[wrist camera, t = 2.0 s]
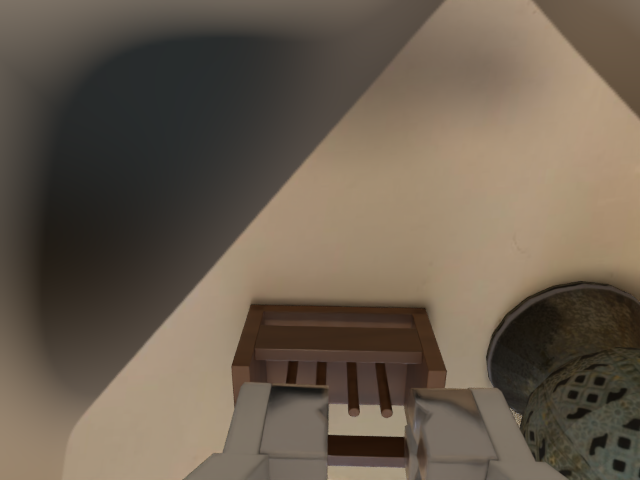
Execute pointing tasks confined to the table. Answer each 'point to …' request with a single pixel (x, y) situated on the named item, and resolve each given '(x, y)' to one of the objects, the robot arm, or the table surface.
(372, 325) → the rack
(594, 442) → the lantern
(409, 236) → the table surface
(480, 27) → the table surface
